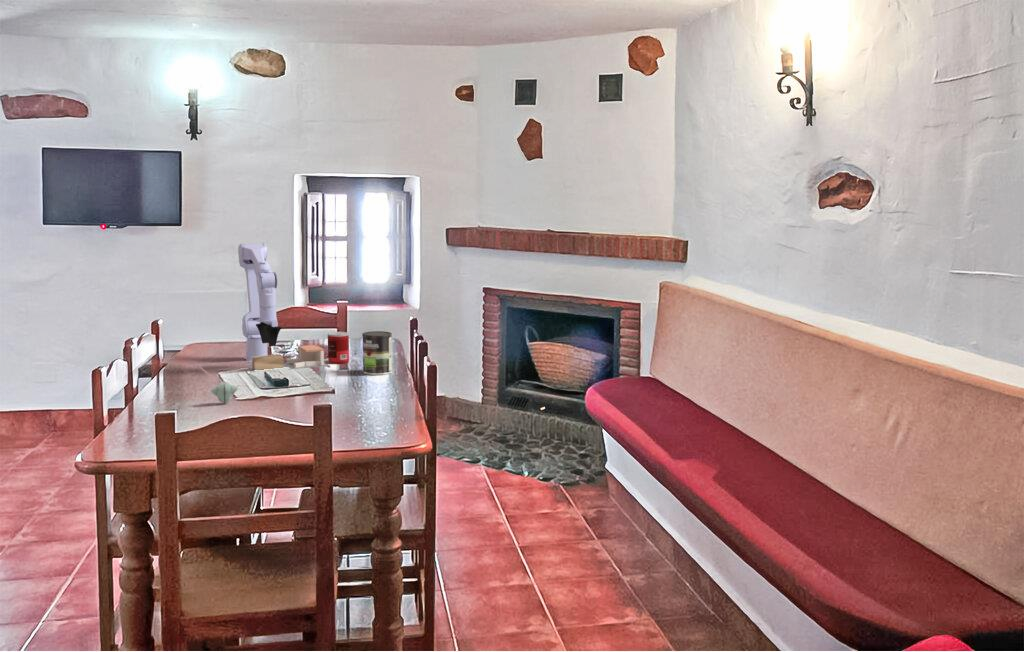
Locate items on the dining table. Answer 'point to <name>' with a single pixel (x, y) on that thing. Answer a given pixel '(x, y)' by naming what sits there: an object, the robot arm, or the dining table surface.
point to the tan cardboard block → (267, 362)
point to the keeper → (306, 358)
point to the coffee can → (377, 353)
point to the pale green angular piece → (224, 391)
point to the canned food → (338, 347)
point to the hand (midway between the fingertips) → (269, 344)
